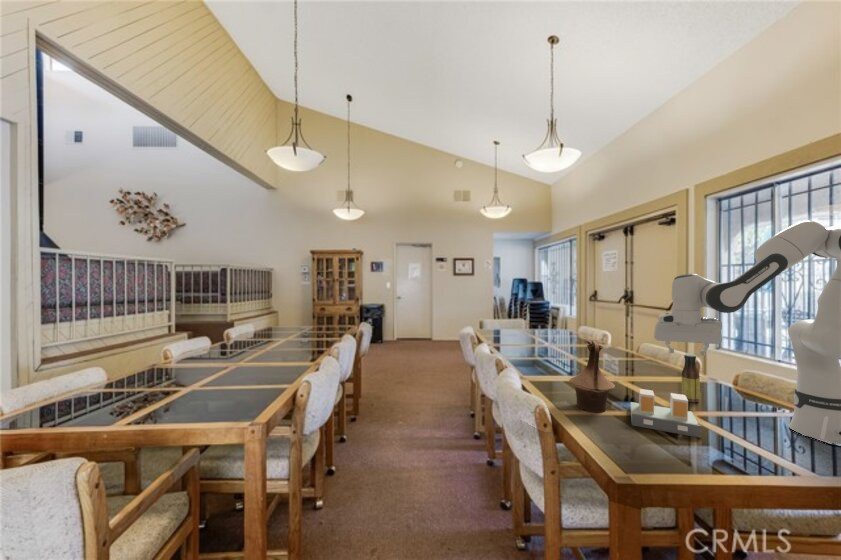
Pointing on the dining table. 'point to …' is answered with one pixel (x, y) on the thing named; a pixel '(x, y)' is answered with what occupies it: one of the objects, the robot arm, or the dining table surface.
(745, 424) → the dining table surface
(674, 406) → the turned carton
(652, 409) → the faced carton
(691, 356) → the sauce bottle
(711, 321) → the robot arm
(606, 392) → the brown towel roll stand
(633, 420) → the shelf
